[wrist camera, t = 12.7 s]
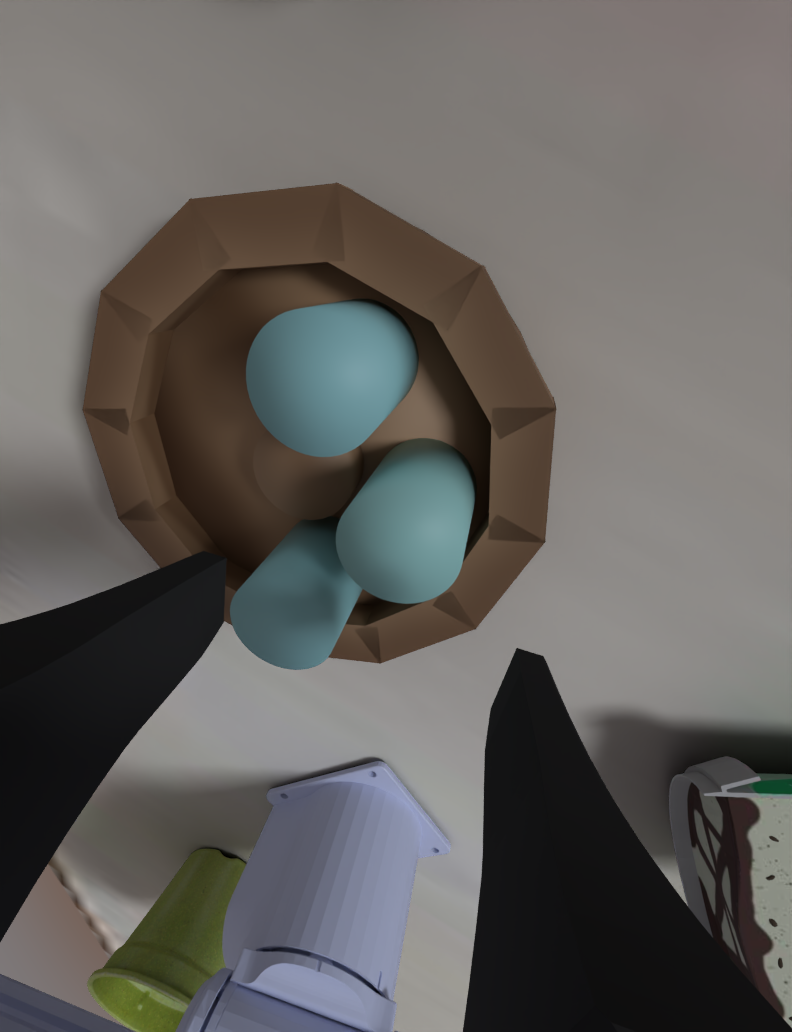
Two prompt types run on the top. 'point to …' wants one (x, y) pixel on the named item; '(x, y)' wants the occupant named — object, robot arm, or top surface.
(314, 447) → the bead
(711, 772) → the food container
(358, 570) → the loose bead
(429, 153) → the top surface
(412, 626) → the groove tray
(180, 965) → the plant pot
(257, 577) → the seated bead
